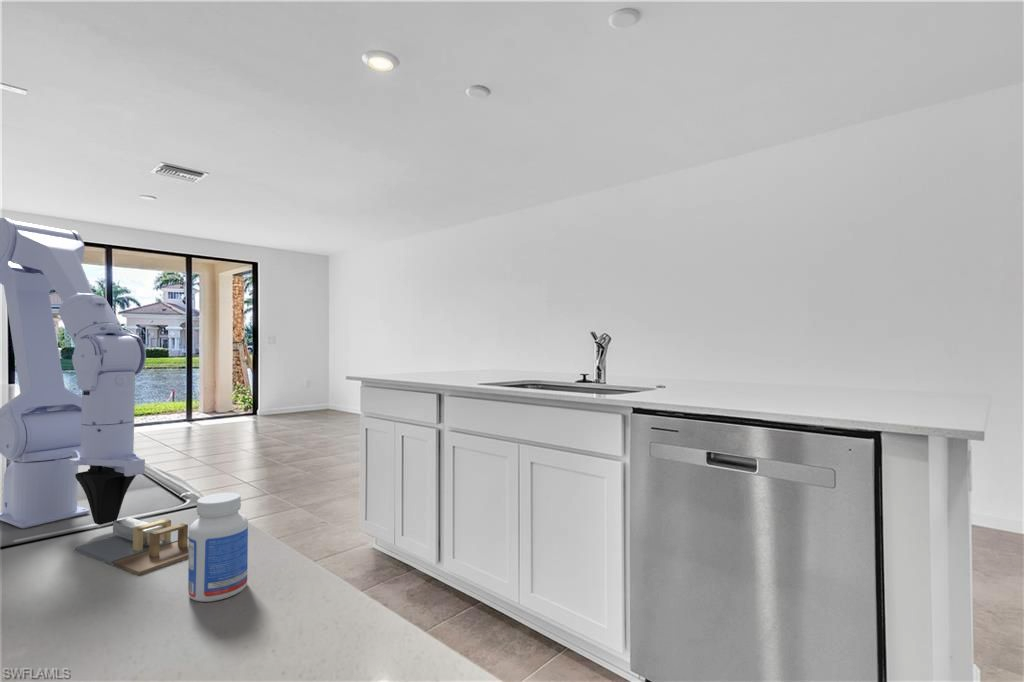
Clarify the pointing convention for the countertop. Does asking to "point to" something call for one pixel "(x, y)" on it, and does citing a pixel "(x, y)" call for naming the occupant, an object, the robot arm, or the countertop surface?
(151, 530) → the bolt
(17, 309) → the robot arm
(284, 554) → the countertop surface
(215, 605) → the countertop surface
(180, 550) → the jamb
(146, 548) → the door
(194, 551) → the pill bottle
